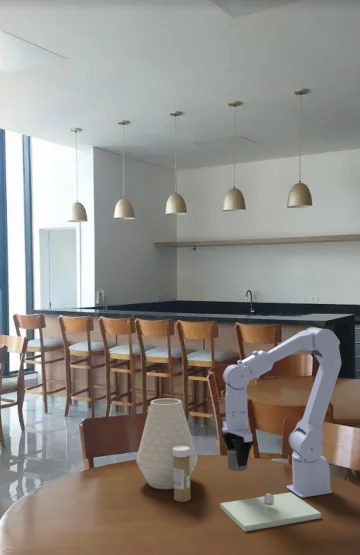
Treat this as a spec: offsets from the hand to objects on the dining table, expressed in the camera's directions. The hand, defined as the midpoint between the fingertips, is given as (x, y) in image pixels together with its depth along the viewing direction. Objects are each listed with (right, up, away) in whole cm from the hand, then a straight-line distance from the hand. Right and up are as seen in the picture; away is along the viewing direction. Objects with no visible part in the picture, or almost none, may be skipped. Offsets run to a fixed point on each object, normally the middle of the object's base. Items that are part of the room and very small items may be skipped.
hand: (237, 462), depth 143 cm
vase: (-19, -10, +11) cm, 24 cm away
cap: (0, -1, 0) cm, 1 cm away
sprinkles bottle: (-15, -9, -2) cm, 17 cm away
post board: (+6, -9, -11) cm, 16 cm away
